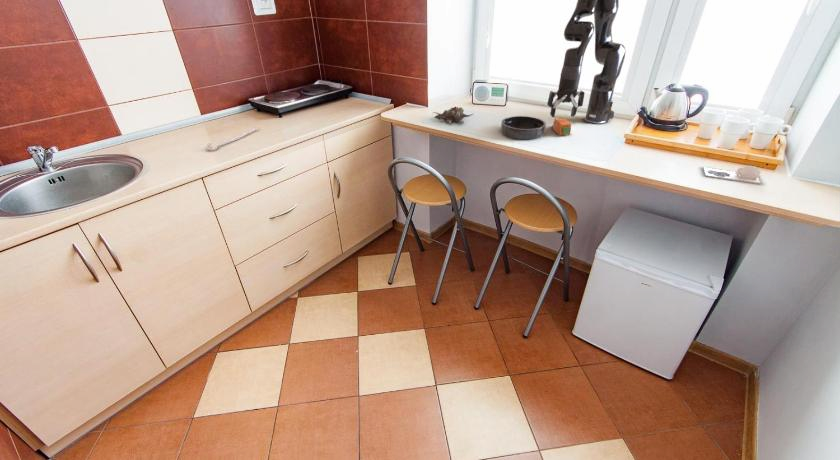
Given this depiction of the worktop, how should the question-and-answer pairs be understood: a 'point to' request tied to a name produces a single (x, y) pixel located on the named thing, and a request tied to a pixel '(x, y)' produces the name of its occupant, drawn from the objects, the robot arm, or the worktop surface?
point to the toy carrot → (562, 126)
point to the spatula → (213, 145)
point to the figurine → (452, 115)
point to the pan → (523, 127)
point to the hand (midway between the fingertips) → (562, 116)
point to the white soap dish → (736, 174)
